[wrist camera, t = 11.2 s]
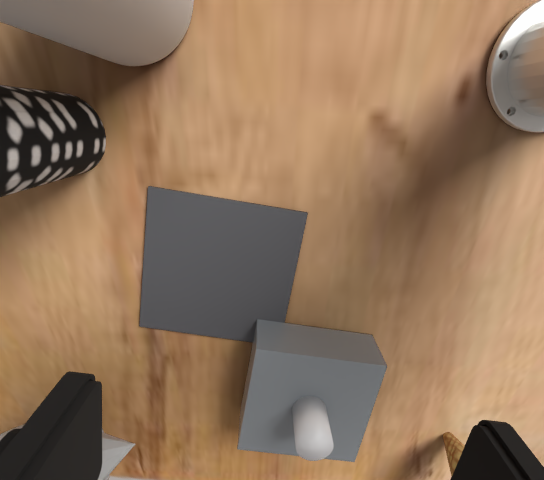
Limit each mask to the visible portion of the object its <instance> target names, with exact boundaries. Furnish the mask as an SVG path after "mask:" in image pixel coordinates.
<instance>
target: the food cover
mask: <svg viewBox="0 0 544 480" xmlns="http://www.w3.org/2000/svg"><path fill="white" fill-rule="evenodd" d="M386 368H387V364H386V362H385V360H384V358H383V356H382V354H381V352H380V350H379V348H378V346H377V344H376V342H375V340H374V338H373V336H372V335H369V334H362V333H355V332H347V331H340V330H333V329H326V328H318V327H311V326H304V325H296V324H289V323H282V322H275V321H267V320H260V319H257V323H256V328H255V334H254V339H253V345H252V350H251V356H250V361H249V366H248V372H247V377H246V383H245V388H244V394H243V399H242V404H241V410H240V421H239V434H238V447H237V449H239V450H249V451H258V452H267V453H277V454H286V455H295V456H300V457H302V458H304V459H306V460H310V461H317V460H321V459H332V460H341V461H351V462H355V459H356V456H357V453H358V450H359V447H360V444H361V442H362V439H363V436H364V433H365V430H366V427H367V424H368V421H369V418H370V415H371V412H372V409H373V406H374V404H375V401H376V398H377V395H378V392H379V389H380V386H381V383H382V380H383V377H384V374H385V371H386Z"/></svg>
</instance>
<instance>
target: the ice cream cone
mask: <svg viewBox="0 0 544 480" xmlns="http://www.w3.org/2000/svg"><path fill="white" fill-rule="evenodd" d="M443 439H444V444H445V449H446V453H447V458H448V463H449V467H450V471H451V475H453V473H454V470H455V468H456V466H457V463H458V461H459V459H460V456H461V454H462V451H463V449H464V447H465V446H464V445H463V444H462V443H461V442H460V441H459V440H458V439H457V438H456V437H455V436H454V435H453V434H452V433H450V432H447V433H445V434H444V435H443Z"/></svg>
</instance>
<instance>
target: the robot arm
mask: <svg viewBox="0 0 544 480" xmlns="http://www.w3.org/2000/svg"><path fill="white" fill-rule="evenodd" d="M499 54H500V58H499ZM486 86H487V92H488V97H489V100H490V102H491V105H492V107H493V109H494V110H495V112H496V113H497V115H498V116H499V117H500V118H501V119H502V120H503V121H504V122H505V123H507V124H508V125H510V126H512V127H513V128H516V129H519V130H522V131H527V132H544V0H539V1H537V2H534V3H532V4H531V5H529V6H528V7H526V8H525V9H524V10H522V11H521V12H520V13H519V14H517V15H516V16H515V17H514V18H513V19H512V20H511V21H510V22H509V24H508V25H507V26H506V27H505V29H504V30H503V31H502V32H501V34H500V36H499V38H498V39H497V41H496V43H495V45H494V47H493V50H492V53H491V55H490V58H489V62H488V67H487V77H486ZM507 110H508V112H507ZM101 468H102V385H101V382H99V381H95V376H94V375H93V374H86V373H78V372H67V373H66V374H65V375H64V376H63V377H62V378H61V380H60V381H59V382H58V383H57V385H56V386H55V387H54V388H53V390H52V391H51V392H50V393H49V395H48V396H47V397H46V398H45V400H44V401H43V402H42V403H41V405H40V406H39V407H38V408H37V410H36V411H35V412H34V413H33V415H32V416H31V417H30V418H29V420H28V421H27V422H26V423H25V424H24V426H23V427H22V428H21V429H19V428H18V429H13V430H11V431H10V432H8V433H7V434H6V435H5V436H4V437H3V438H2V439H1V440H0V480H98V478H99V475H100V472H101ZM451 480H544V467H543V466H542V465H541V463H540V462H539V461H538V459H537V458H536V457H535V456H534V454H533V453H532V452H531V450H530V449H529V448H528V447H527V445H526V444H525V443H524V441H523V440H522V439H521V438H520V436H519V435H518V434H517V432H516V431H515V430H514V429H513V427H512V426H511V425H510V424H508V423H506V422H497V421H489V420H482V421H480V422H479V423H478V425H475V426H474V427H473V428H472V430H471V433H470V435H469V437H468V440H467V442H466V444H465V447H464V449H463V451H462V454H461V456H460V459H459V461H458V463H457V466H456V468H455V470H454V473H453V475H452V477H451Z"/></svg>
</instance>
